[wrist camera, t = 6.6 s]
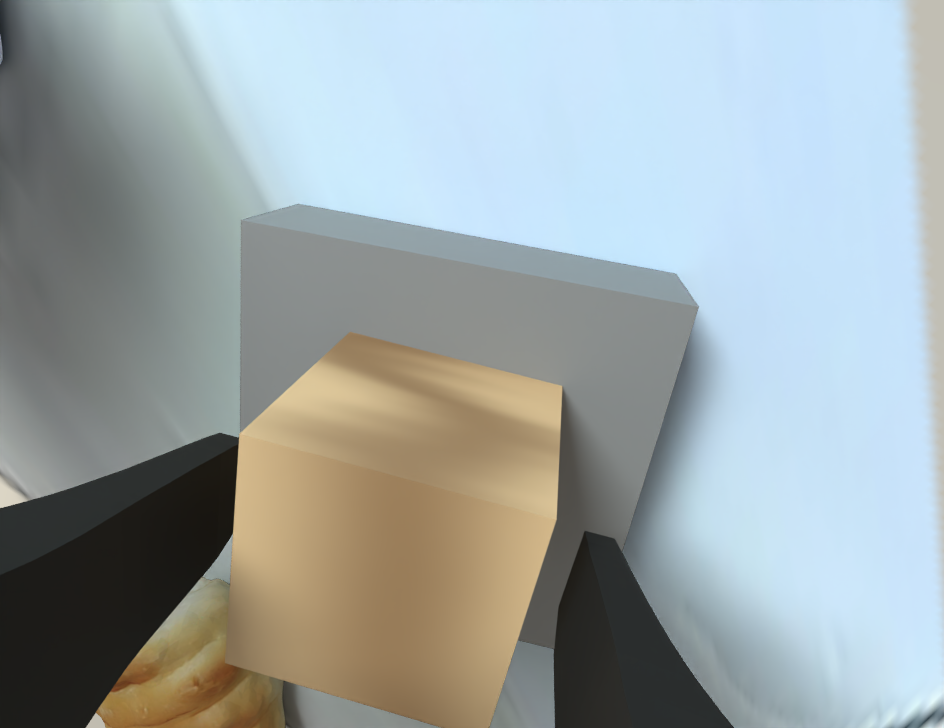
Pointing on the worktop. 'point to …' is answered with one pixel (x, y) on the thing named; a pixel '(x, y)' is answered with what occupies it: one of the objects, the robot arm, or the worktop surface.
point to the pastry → (193, 675)
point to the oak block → (394, 529)
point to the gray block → (480, 343)
